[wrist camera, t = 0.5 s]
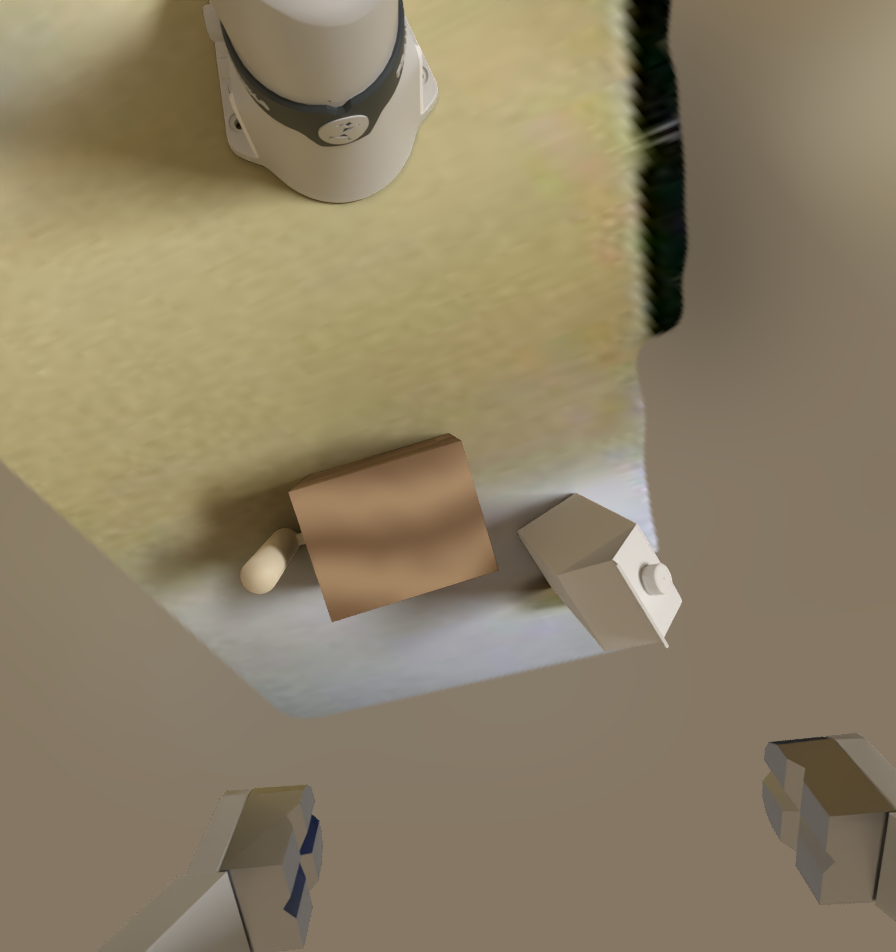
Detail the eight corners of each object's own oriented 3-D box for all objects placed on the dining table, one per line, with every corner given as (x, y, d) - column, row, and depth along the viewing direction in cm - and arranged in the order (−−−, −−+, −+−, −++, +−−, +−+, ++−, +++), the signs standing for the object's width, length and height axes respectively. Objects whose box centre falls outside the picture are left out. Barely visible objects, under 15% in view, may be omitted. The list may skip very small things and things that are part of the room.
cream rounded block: (262, 522, 56) (230, 551, 45) (423, 473, 56) (430, 491, 46) (279, 570, 56) (251, 611, 45) (437, 522, 57) (448, 551, 46)
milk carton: (551, 588, 59) (624, 676, 40) (515, 530, 58) (572, 593, 39) (611, 550, 59) (711, 619, 40) (575, 491, 58) (662, 535, 39)
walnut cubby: (307, 475, 55) (288, 492, 45) (449, 433, 56) (461, 440, 46) (343, 583, 57) (331, 622, 47) (480, 540, 58) (498, 570, 48)
